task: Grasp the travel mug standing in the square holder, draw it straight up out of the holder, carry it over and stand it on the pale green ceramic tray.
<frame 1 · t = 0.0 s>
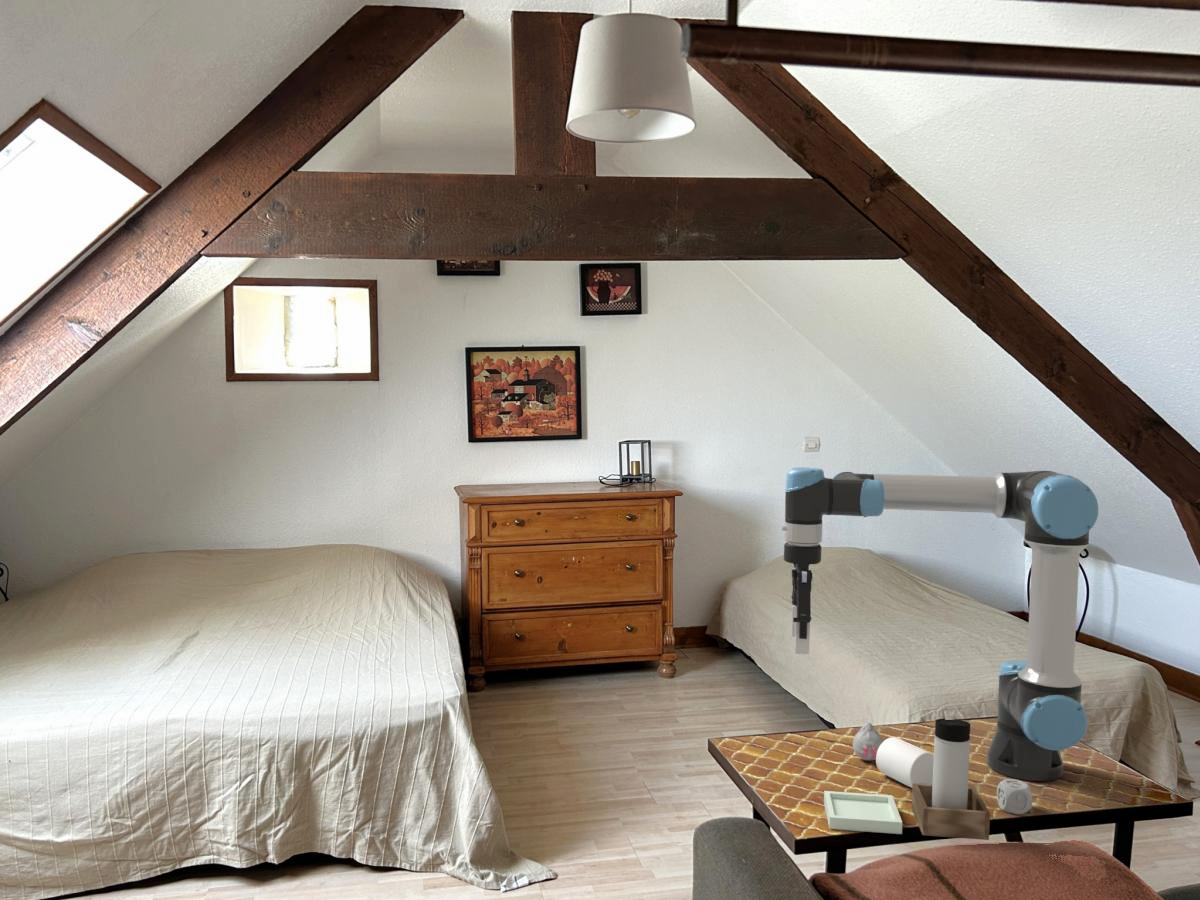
hand: (799, 644, 206), 28 cm above the table, fingers open, 13 cm apart
tray: (861, 817, 189), on the table
die: (1013, 810, 194), on the table
mug: (913, 781, 208), on the table
figurine: (867, 760, 218), on the table
holder: (948, 823, 187), on the table
travel mug: (948, 824, 187), resting in holder
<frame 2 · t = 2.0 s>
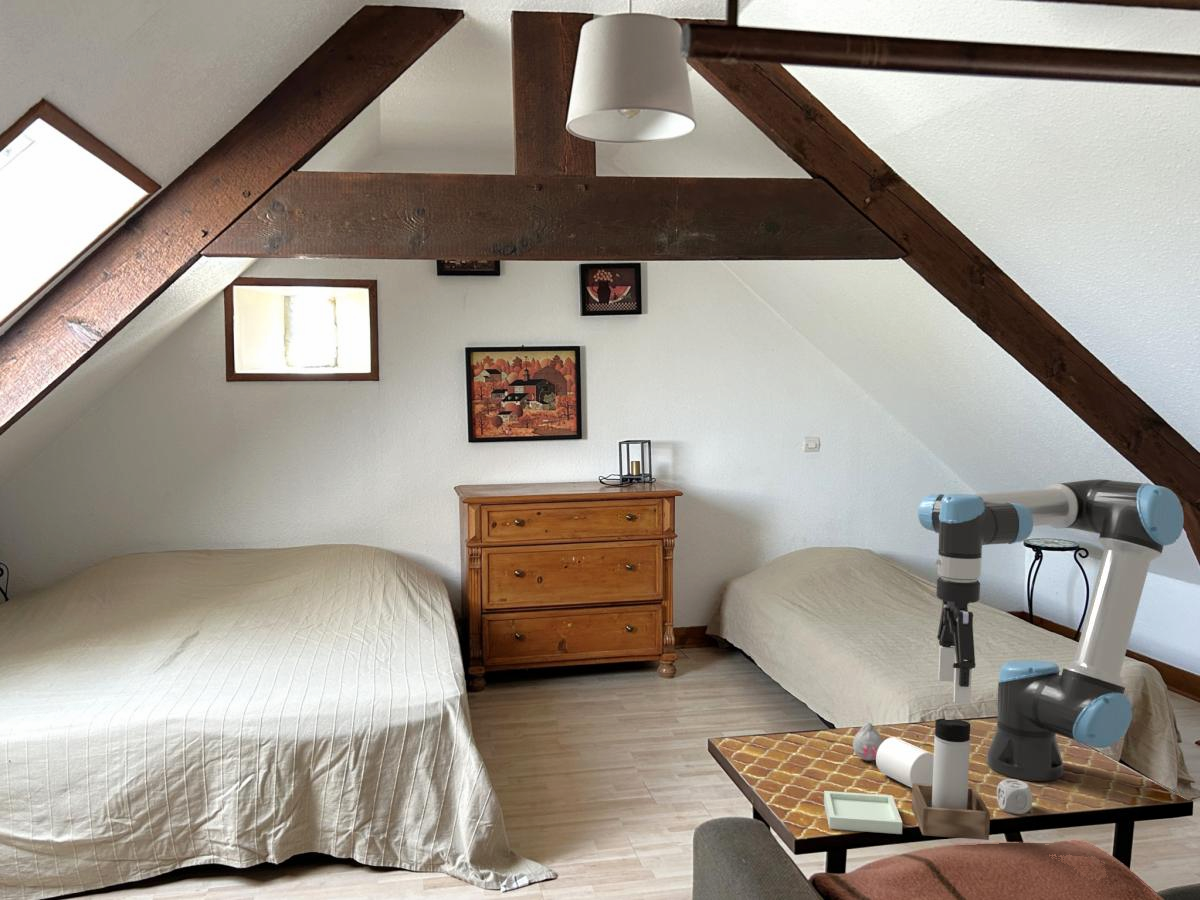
hand: (953, 691, 185), 25 cm above the table, fingers open, 13 cm apart
nothing on the table moved.
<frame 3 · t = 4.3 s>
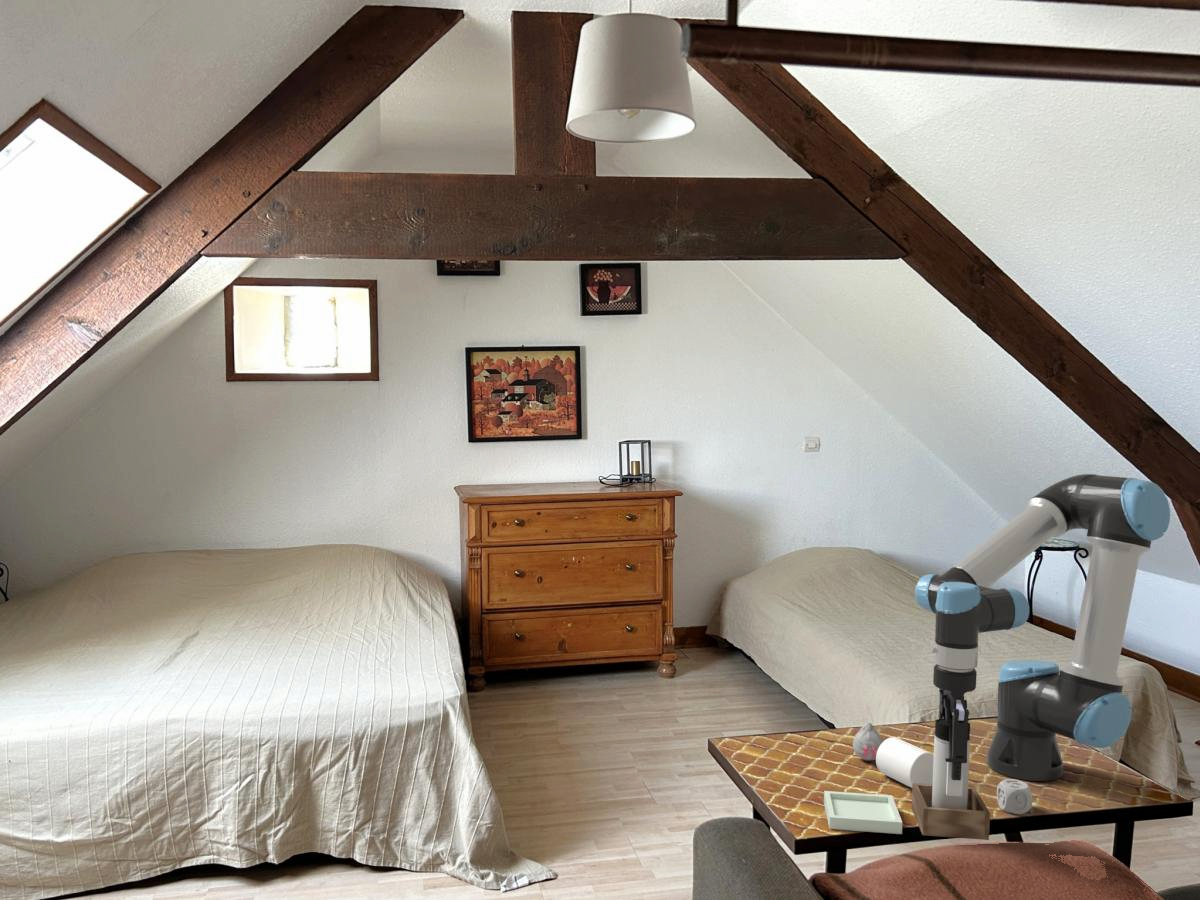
hand: (950, 787, 187), 7 cm above the table, fingers closed on travel mug, 6 cm apart
travel mug: (948, 824, 187), resting in holder, touching gripper
everything else where it was.
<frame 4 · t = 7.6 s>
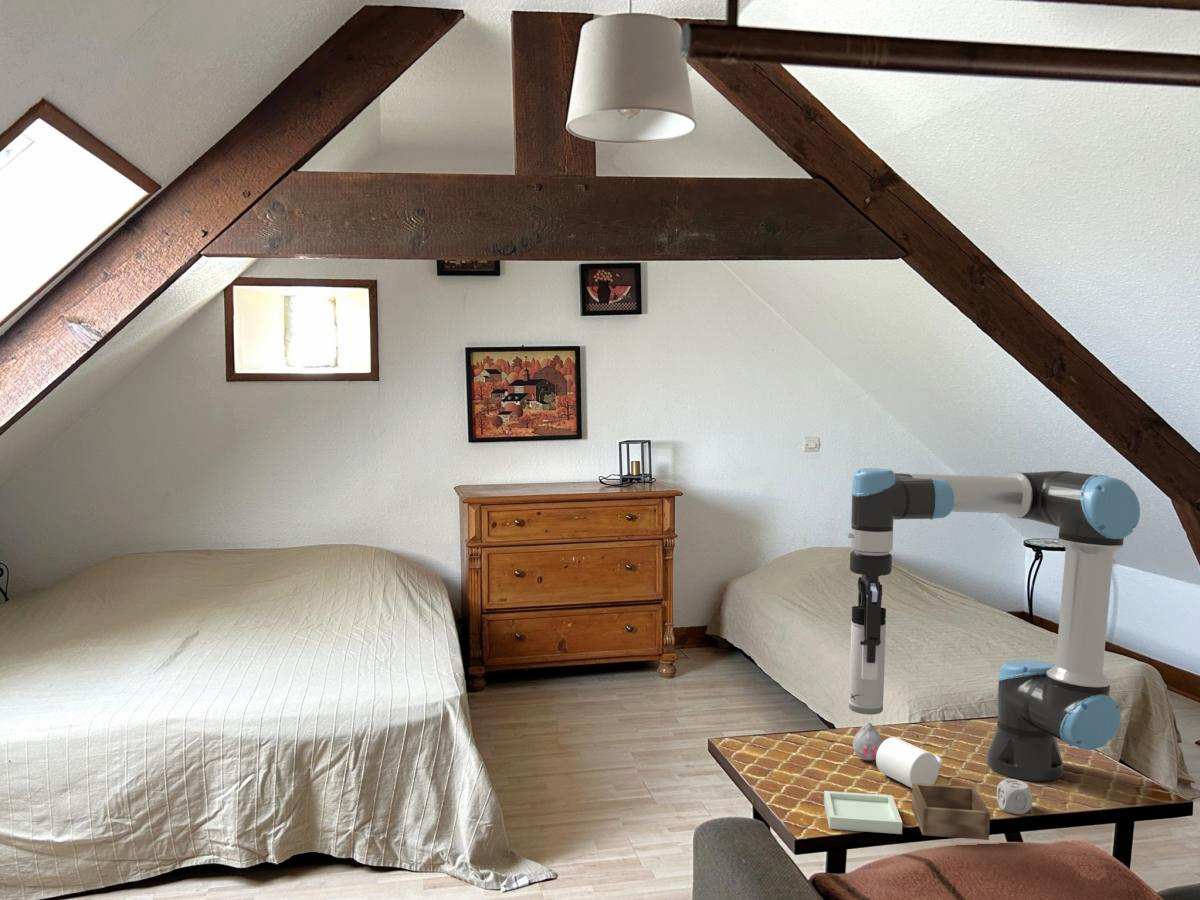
hand: (866, 673, 187), 28 cm above the table, fingers closed on travel mug, 6 cm apart
travel mug: (865, 710, 188), point 21 cm above the table, touching gripper
everything else where it was.
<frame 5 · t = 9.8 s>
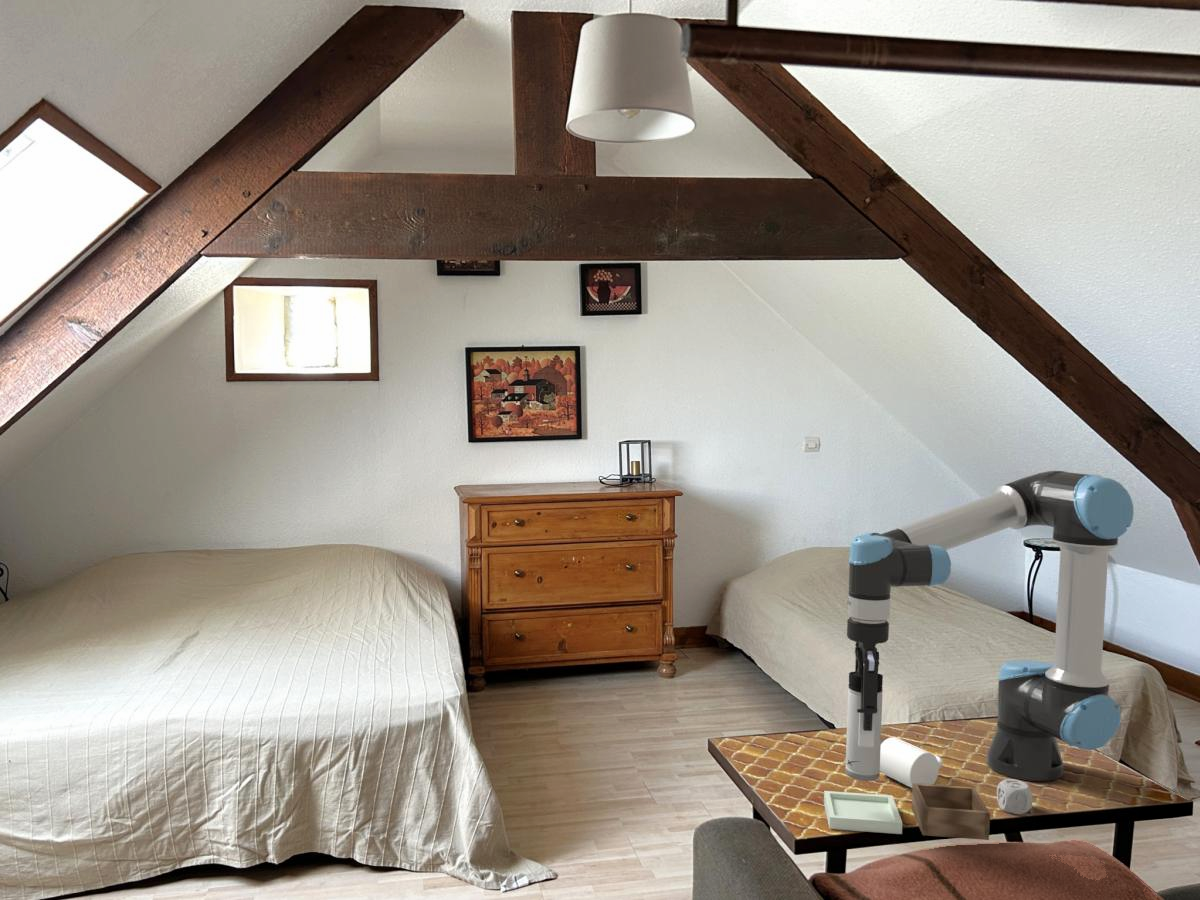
hand: (863, 739, 188), 15 cm above the table, fingers closed on travel mug, 6 cm apart
travel mug: (862, 776, 189), point 8 cm above the table, touching gripper
everything else where it was.
when the fingers open (9 cm above the table, at t = 11.4 s): travel mug drops 1 cm, resting on tray.
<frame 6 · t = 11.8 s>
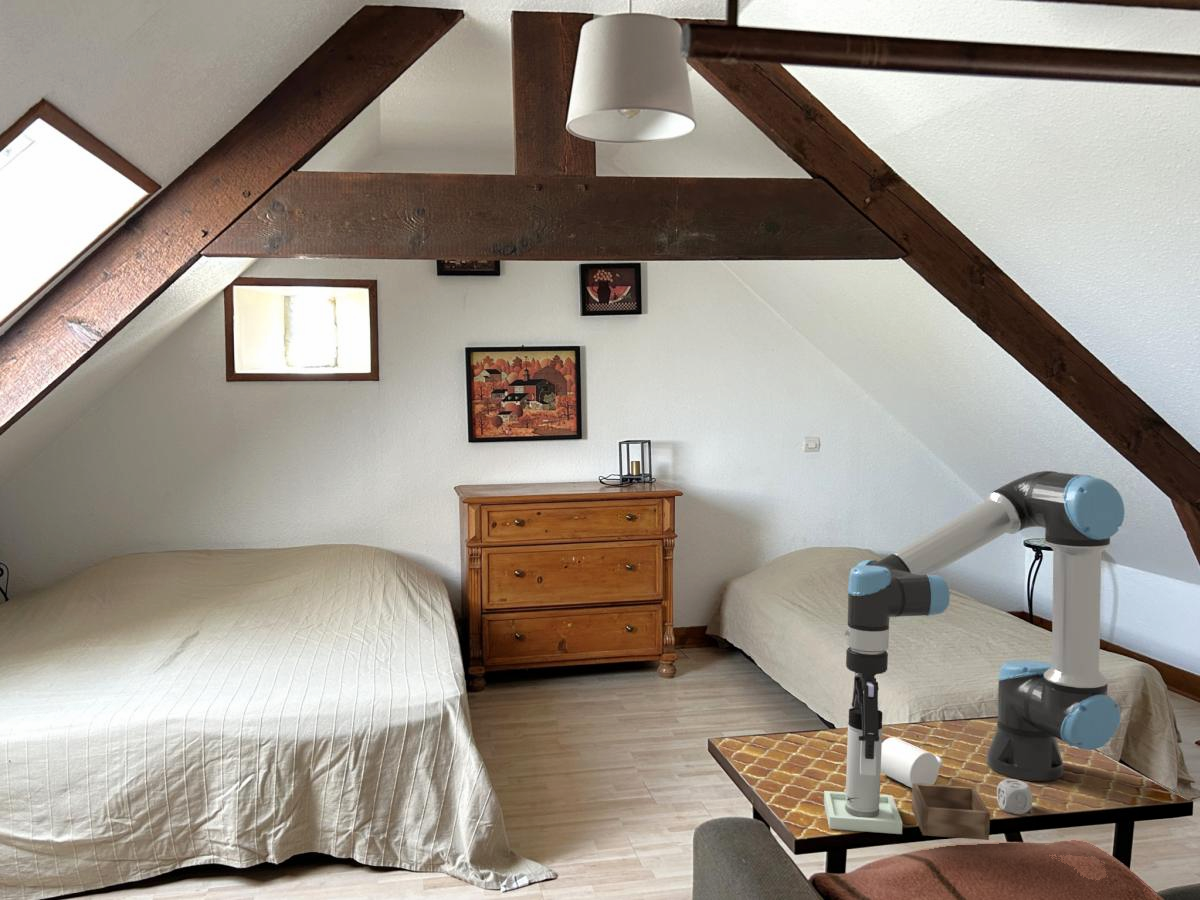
hand: (863, 761, 189), 11 cm above the table, fingers open, 12 cm apart
travel mug: (862, 812, 189), point 1 cm above the table, touching tray
everything else where it was.
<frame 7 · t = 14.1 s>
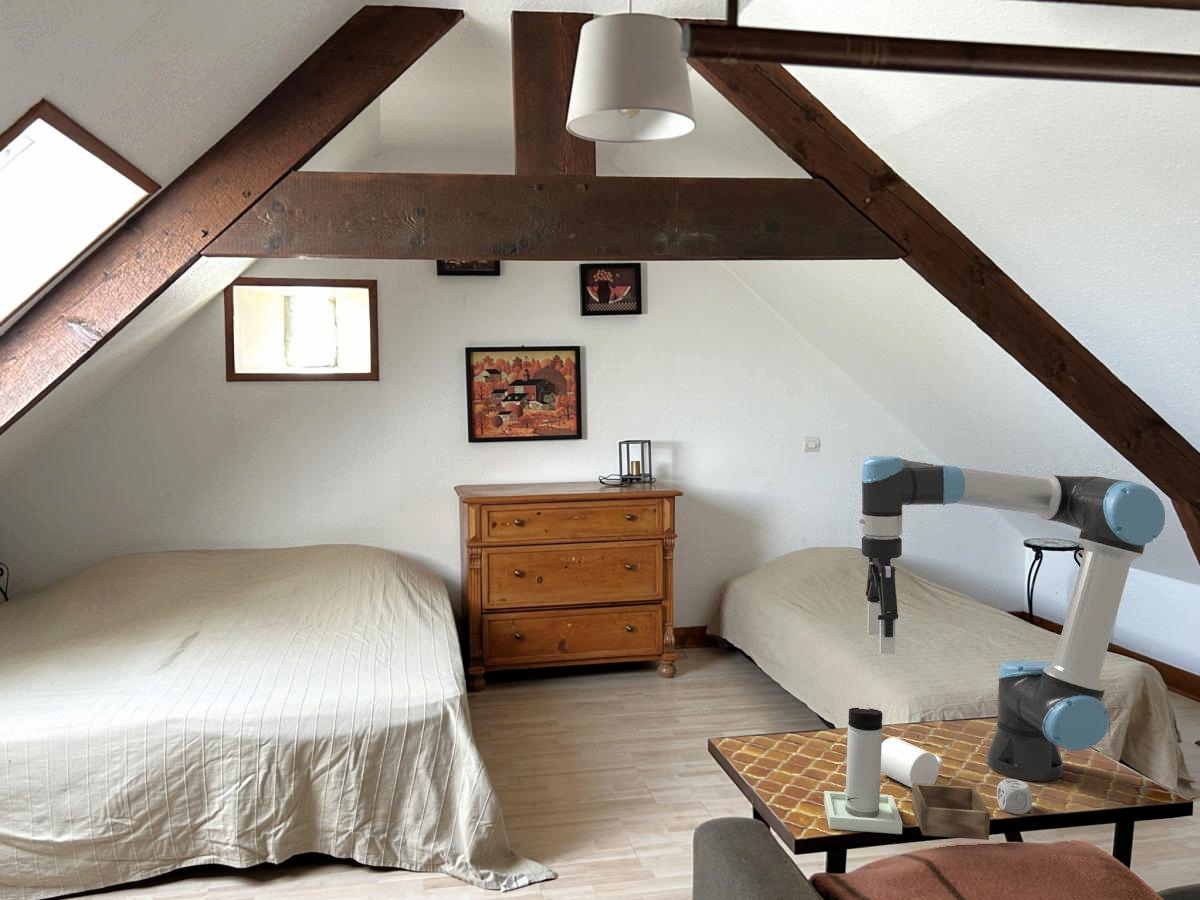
hand: (880, 643, 196), 31 cm above the table, fingers open, 13 cm apart
nothing on the table moved.
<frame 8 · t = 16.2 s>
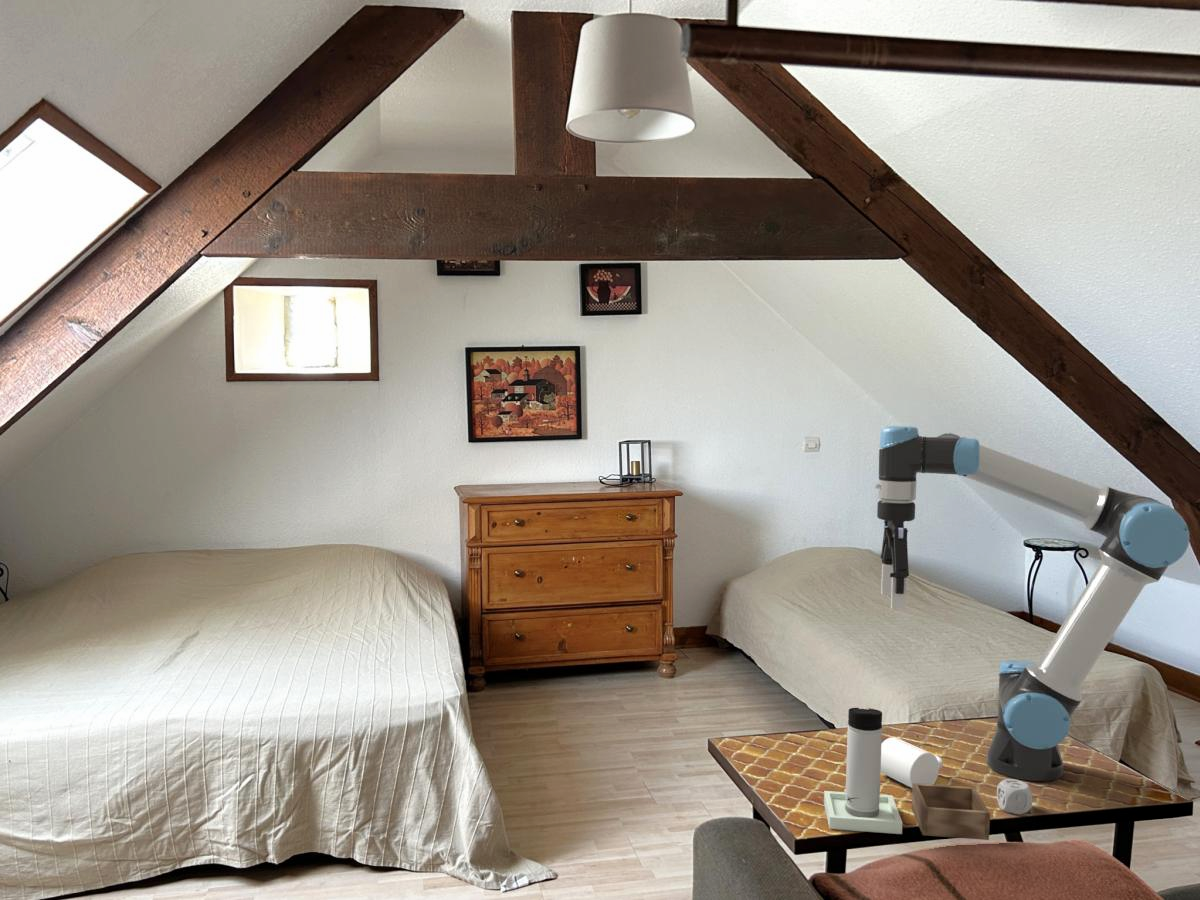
hand: (892, 601, 209), 37 cm above the table, fingers open, 13 cm apart
nothing on the table moved.
at the end: travel mug inside the target area on the tray (0.1 cm from its centre), point 1.0 cm above the tray's base; travel mug tilted 0°; the gripper is holding nothing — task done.
